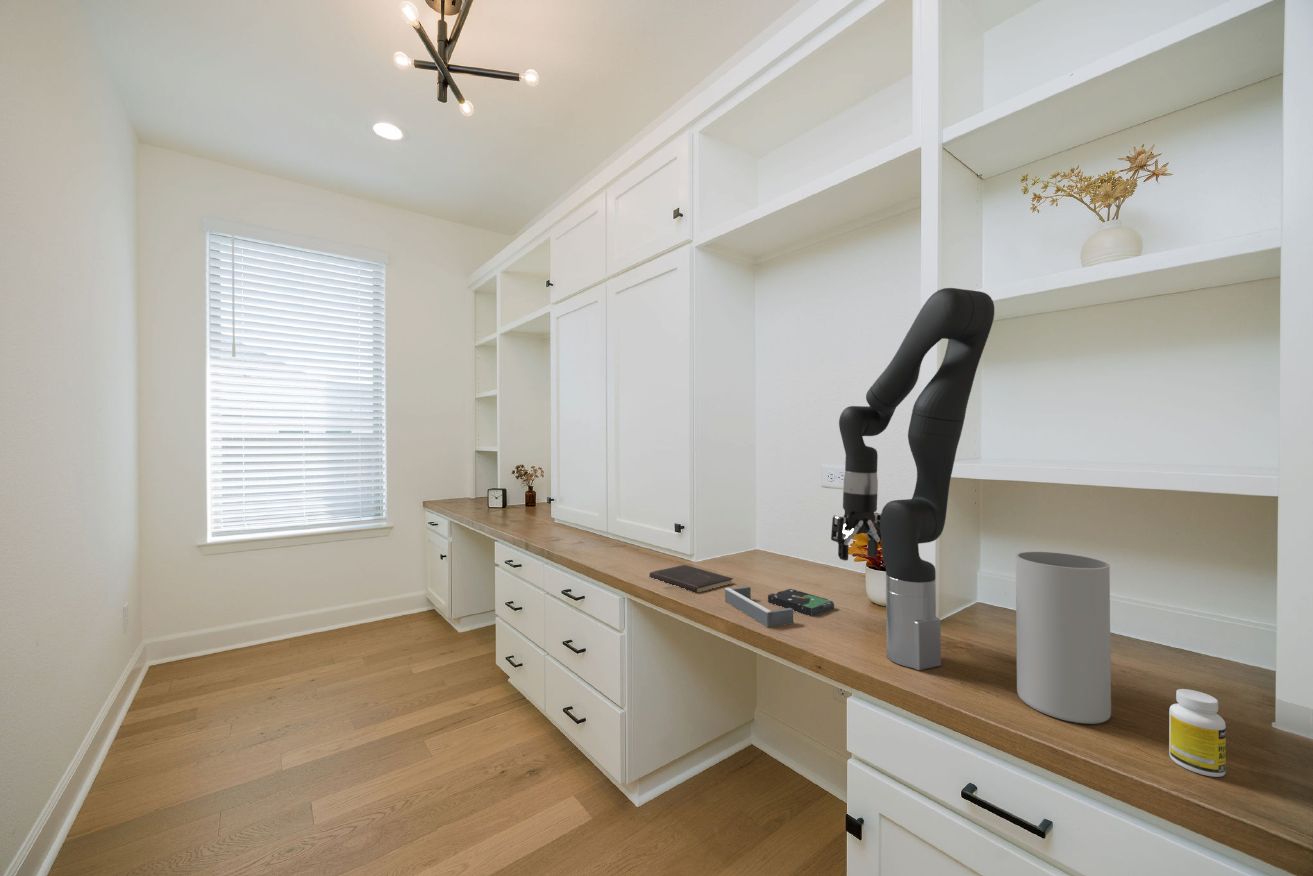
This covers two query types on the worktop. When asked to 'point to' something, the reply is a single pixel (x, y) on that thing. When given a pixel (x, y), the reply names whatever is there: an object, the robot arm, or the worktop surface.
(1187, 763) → the supplement bottle
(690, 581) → the hardcover book
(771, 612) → the dock
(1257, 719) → the worktop surface
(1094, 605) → the cylinder vase
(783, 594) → the disk drive
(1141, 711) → the worktop surface
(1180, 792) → the worktop surface
